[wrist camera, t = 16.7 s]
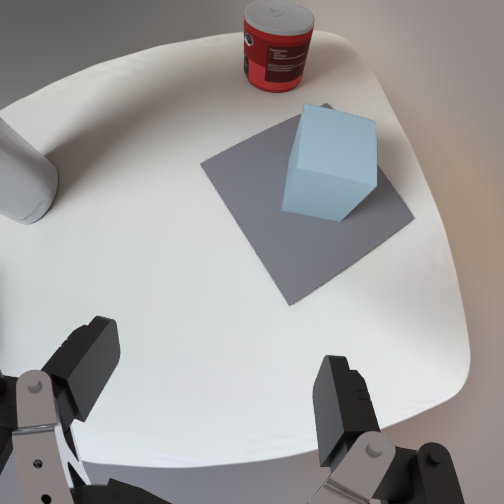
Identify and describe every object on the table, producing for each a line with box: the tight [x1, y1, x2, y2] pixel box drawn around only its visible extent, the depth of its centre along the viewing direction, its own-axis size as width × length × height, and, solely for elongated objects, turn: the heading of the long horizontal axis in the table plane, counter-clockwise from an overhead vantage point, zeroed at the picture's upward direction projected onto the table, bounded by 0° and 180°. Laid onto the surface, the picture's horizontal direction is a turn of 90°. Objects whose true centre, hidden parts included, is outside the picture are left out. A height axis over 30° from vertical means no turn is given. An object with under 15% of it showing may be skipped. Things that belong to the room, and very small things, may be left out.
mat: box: [201, 103, 414, 306], centre depth 32 cm, size 18×18×1 cm
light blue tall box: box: [281, 104, 377, 222], centre depth 27 cm, size 6×6×10 cm
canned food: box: [244, 0, 314, 93], centre depth 30 cm, size 8×8×11 cm
